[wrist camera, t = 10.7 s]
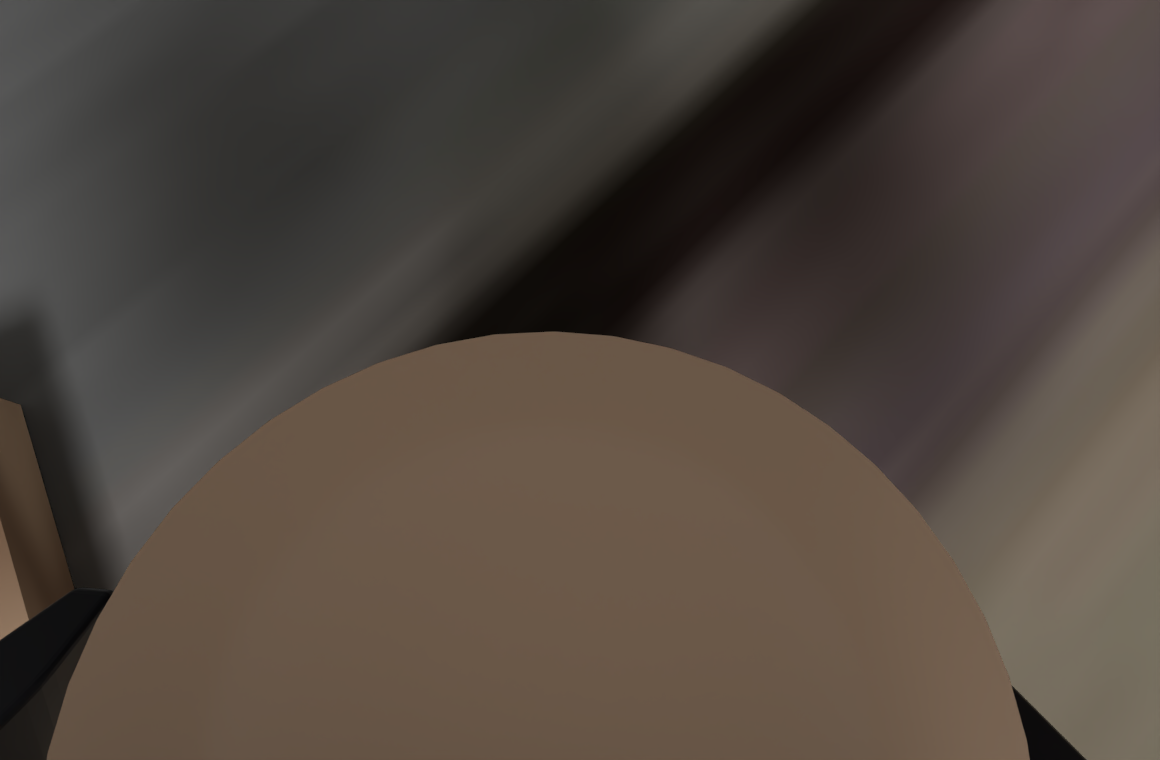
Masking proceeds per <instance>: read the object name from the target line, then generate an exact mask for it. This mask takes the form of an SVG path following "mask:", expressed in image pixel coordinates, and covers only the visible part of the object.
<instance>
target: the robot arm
mask: <svg viewBox="0 0 1160 760" xmlns="http://www.w3.org/2000/svg"><path fill="white" fill-rule="evenodd" d="M113 592H114V591H112V590H105V589H94V588H77V589H74V590H72V591H70V592H68V593H67V594H65V595H64V596H63V597H61V598H60V599H58V600H57V601H55V602H54V603H52V604H51V605H50V606H48V607H47V608H45V609H44V610H42V611H41V612H39V613H38V614H37V615H35V616H34V617H32V618H31V619H29V620H28V621H27V622H25V623H24V624H22V625H21V626H19V627H18V628H16V629H15V630H14V631H12V632H11V633H9V634H8V635H6V636H5V637H3V638H2V639H1V640H0V760H47V754H48V750H49V747H50V744H51V740H52V737H53V734H54V730H55V727H56V724H57V720H58V717H59V714H60V711H61V707H62V704H63V701H64V697H65V694H66V691H67V687H68V684H69V682H70V680H71V677H72V675H73V673H74V670H75V668H76V666H77V664H78V661H79V659H80V657H81V655H82V652H83V650H84V648H85V645H86V643H87V641H88V639H89V636H90V634H91V632H92V629H93V627H94V625H95V623H96V620H97V619H98V617H99V615H100V614H101V612H102V610H103V609H104V607H105V605H106V603H107V602H108V600H109V598H110V597H111V595H112V593H113ZM1012 689H1013V692H1014V696H1015V700H1016V703H1017V707H1018V711H1019V714H1020V718H1021V721H1022V725H1023V729H1024V732H1025V736H1026V739H1027V744H1028V751H1029V757H1030V760H1086V759H1085V758H1084V757H1083V756H1082V755H1081V754H1080V753H1079V752H1078V751H1077V750H1076V749H1075V748H1074V747H1073V746H1072V745H1071V744H1070V743H1069V742H1068V741H1067V740H1066V739H1065V738H1064V737H1063V736H1062V735H1061V734H1060V733H1059V732H1058V731H1057V730H1056V729H1055V728H1054V727H1053V726H1052V725H1051V724H1050V723H1049V722H1048V721H1047V720H1046V719H1045V718H1044V717H1043V716H1042V715H1041V714H1040V713H1039V712H1038V711H1037V710H1036V709H1035V708H1034V707H1033V706H1032V705H1031V704H1030V703H1029V702H1028V701H1027V700H1026V699H1025V698H1024V697H1023V696H1022V695H1021V694H1020V693H1019V692H1018V691H1017V690H1016V689H1015V688H1014V687H1013V686H1012Z"/></svg>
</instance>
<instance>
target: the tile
mask: <svg viewBox="0 0 1160 760" xmlns="http://www.w3.org/2000/svg"><path fill="white" fill-rule="evenodd" d="M72 590H74V586H73V582H72V579H71V576H70V572H69V569H68V565H67V562H66V559H65V555H64V552H63V548H62V545H61V541H60V538H59V535H58V531H57V528H56V524H55V521H54V517H53V514H52V511H51V507H50V504H49V500H48V497H47V494H46V490H45V487H44V483H43V480H42V476H41V473H40V470H39V466H38V463H37V459H36V456H35V452H34V449H33V446H32V442H31V439H30V435H29V432H28V429H27V425H26V422H25V418H24V415H23V411H22V408H21V405H19V404H16V403H13V402H10V401H7V400H4V399H1V398H0V640H1V639H2V638H3V637H5V636H6V635H8V634H9V633H11V632H12V631H14V630H15V629H16V628H18V627H19V626H21V625H22V624H24V623H25V622H27V621H28V620H29V619H31V618H32V617H34V616H35V615H37V614H38V613H39V612H41V611H42V610H44V609H45V608H47V607H48V606H50V605H51V604H52V603H54V602H55V601H57V600H58V599H60V598H61V597H63V596H64V595H65V594H67V593H68V592H70V591H72Z"/></svg>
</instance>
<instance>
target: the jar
mask: <svg viewBox="0 0 1160 760" xmlns="http://www.w3.org/2000/svg"><path fill="white" fill-rule="evenodd" d="M47 760H1030V757H1029V751H1028V744H1027V739H1026V736H1025V732H1024V729H1023V725H1022V721H1021V718H1020V714H1019V711H1018V707H1017V703H1016V700H1015V696H1014V692H1013V689H1012V685H1011V682H1010V678H1009V675H1008V673H1007V670H1006V668H1005V666H1004V663H1003V661H1002V658H1001V656H1000V653H999V651H998V648H997V646H996V643H995V641H994V639H993V636H992V634H991V631H990V629H989V626H988V624H987V621H986V619H985V617H984V615H983V613H982V611H981V609H980V608H979V606H978V604H977V602H976V600H975V599H974V597H973V595H972V593H971V591H970V590H969V588H968V586H967V584H966V582H965V580H964V579H963V577H962V575H961V573H960V571H959V570H958V568H957V566H956V564H955V562H954V561H953V559H952V558H951V557H950V555H949V554H948V552H947V551H946V550H945V548H944V547H943V546H942V544H941V543H940V541H939V540H938V539H937V537H936V536H935V534H934V533H933V532H932V530H931V529H930V527H929V526H928V525H927V523H926V522H925V521H924V519H923V518H922V516H921V515H920V514H919V512H918V511H917V510H916V509H915V507H914V506H913V505H912V504H911V503H910V502H909V501H908V500H907V499H906V498H905V497H904V496H903V494H902V493H901V492H900V491H899V490H898V489H897V488H896V487H895V486H894V485H893V484H892V483H891V481H890V480H889V479H888V478H887V477H886V476H885V475H884V474H883V473H882V472H881V471H880V470H879V468H878V467H877V466H876V465H875V464H873V463H872V462H871V461H870V460H869V459H868V458H866V457H865V456H864V455H863V454H862V453H861V452H859V451H858V450H857V449H856V448H855V447H853V446H852V445H851V444H850V443H849V442H848V441H846V440H845V439H844V438H843V437H842V436H840V435H839V434H838V433H837V432H836V431H835V430H833V429H832V428H831V427H830V426H829V425H827V424H825V423H824V422H822V421H821V420H819V419H818V418H816V417H815V416H813V415H812V414H810V413H809V412H807V411H806V410H804V409H803V408H801V407H800V406H798V405H797V404H795V403H793V402H792V401H790V400H789V399H787V398H786V397H784V396H783V395H781V394H780V393H778V392H776V391H774V390H772V389H770V388H768V387H766V386H764V385H762V384H760V383H758V382H755V381H753V380H751V379H749V378H747V377H745V376H743V375H741V374H739V373H737V372H735V371H733V370H731V369H729V368H727V367H724V366H721V365H719V364H716V363H713V362H710V361H707V360H704V359H701V358H698V357H695V356H692V355H689V354H686V353H684V352H681V351H678V350H675V349H672V348H668V347H663V346H658V345H654V344H649V343H644V342H639V341H634V340H629V339H625V338H620V337H615V336H605V335H593V334H580V333H567V332H534V333H514V334H495V335H489V336H483V337H478V338H472V339H467V340H461V341H455V342H450V343H444V344H438V345H434V346H431V347H428V348H425V349H421V350H418V351H415V352H412V353H408V354H405V355H402V356H399V357H396V358H392V359H389V360H386V361H383V362H380V363H377V364H375V365H373V366H370V367H368V368H366V369H364V370H362V371H359V372H357V373H355V374H353V375H351V376H348V377H346V378H344V379H342V380H339V381H337V382H335V383H333V384H331V385H328V386H326V387H324V388H322V389H320V390H319V391H317V392H315V393H314V394H312V395H311V396H309V397H307V398H306V399H304V400H302V401H301V402H299V403H297V404H296V405H294V406H293V407H291V408H289V409H288V410H286V411H284V412H283V413H281V414H280V415H278V416H276V417H275V418H273V419H271V420H270V421H268V422H267V423H266V424H264V425H263V426H262V427H261V428H259V429H258V430H257V431H256V432H254V433H253V434H252V435H251V436H249V437H248V438H247V439H246V440H244V441H243V442H242V443H241V444H239V445H238V446H237V447H236V448H234V449H233V450H232V451H231V452H229V453H228V454H227V455H226V456H224V457H223V458H222V459H221V460H219V461H218V462H217V463H216V464H215V465H214V466H213V467H212V468H211V469H210V470H209V471H208V472H207V473H206V474H205V475H204V476H203V477H202V478H201V479H200V480H199V481H198V482H197V483H196V485H195V486H194V487H193V488H192V489H191V490H190V491H189V492H188V493H187V494H186V495H185V496H184V497H183V498H182V499H181V500H180V501H179V502H178V503H177V504H176V505H175V506H174V507H173V508H172V509H171V510H170V512H169V513H168V514H167V516H166V517H165V518H164V520H163V521H162V522H161V524H160V525H159V526H158V527H157V529H156V530H155V531H154V533H153V534H152V535H151V537H150V538H149V539H148V540H147V542H146V543H145V544H144V546H143V547H142V548H141V550H140V551H139V552H138V553H137V555H136V556H135V557H134V559H133V560H132V561H131V563H130V565H129V566H128V568H127V570H126V571H125V573H124V575H123V576H122V578H121V580H120V582H119V583H118V585H117V587H116V588H115V590H114V592H113V593H112V595H111V597H110V598H109V600H108V602H107V603H106V605H105V607H104V609H103V610H102V612H101V614H100V615H99V617H98V619H97V620H96V623H95V625H94V627H93V629H92V632H91V634H90V636H89V639H88V641H87V643H86V645H85V648H84V650H83V652H82V655H81V657H80V659H79V661H78V664H77V666H76V668H75V670H74V673H73V675H72V677H71V680H70V682H69V684H68V687H67V691H66V694H65V697H64V701H63V704H62V707H61V711H60V714H59V717H58V720H57V724H56V727H55V730H54V734H53V737H52V740H51V744H50V747H49V750H48V754H47Z"/></svg>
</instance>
